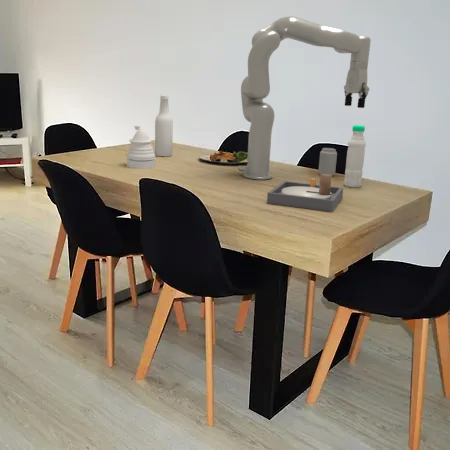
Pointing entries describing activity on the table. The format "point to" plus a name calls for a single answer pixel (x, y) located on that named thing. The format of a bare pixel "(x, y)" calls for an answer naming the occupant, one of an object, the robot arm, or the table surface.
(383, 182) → the table surface
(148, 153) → the honey pot
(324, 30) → the robot arm
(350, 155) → the water bottle
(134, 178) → the table surface
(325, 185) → the dial
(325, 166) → the can
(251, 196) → the table surface
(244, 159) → the plate of food
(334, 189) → the dial frame
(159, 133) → the alcohol
